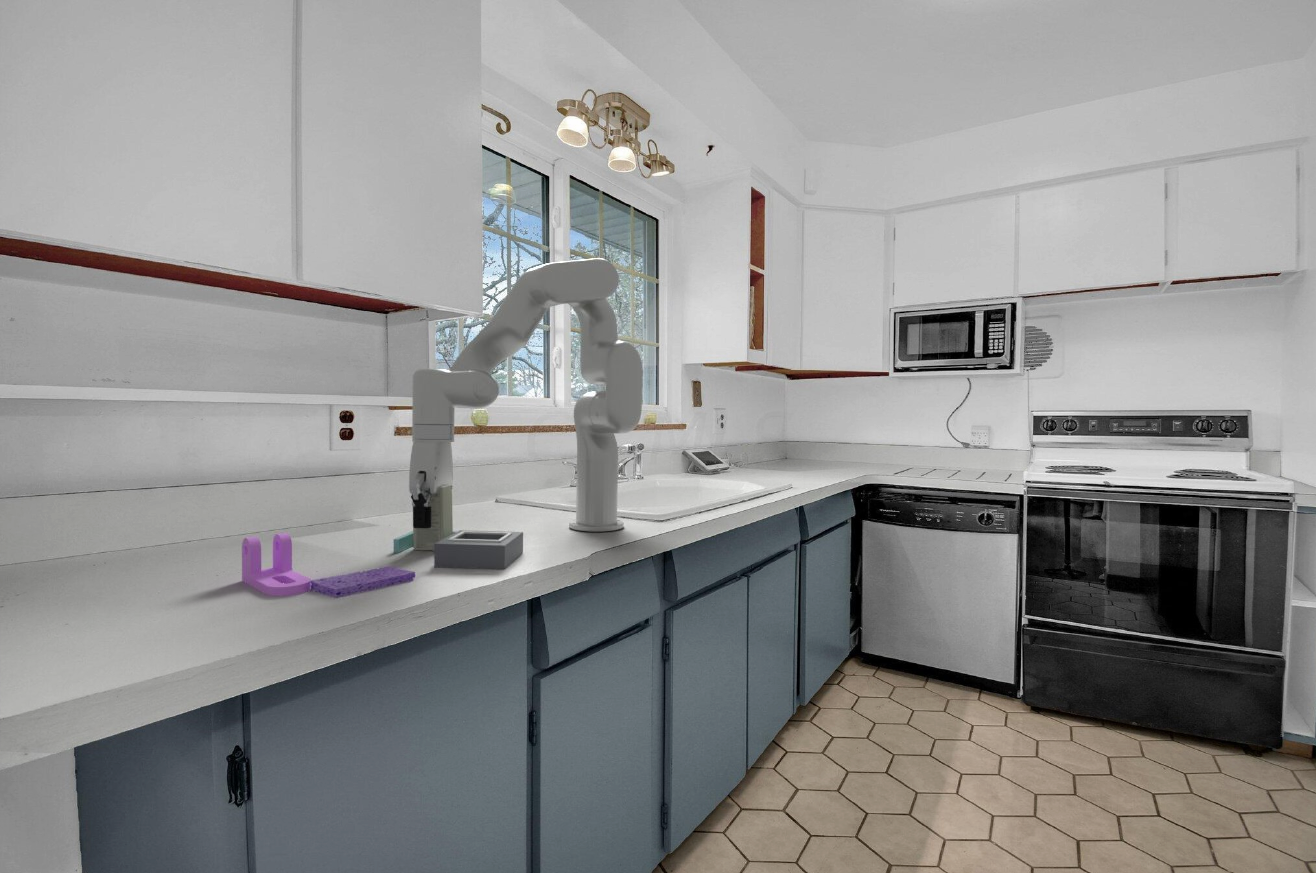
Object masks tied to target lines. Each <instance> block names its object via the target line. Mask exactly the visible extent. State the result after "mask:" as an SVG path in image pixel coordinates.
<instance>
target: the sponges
mask: <svg viewBox="0 0 1316 873" xmlns="http://www.w3.org/2000/svg"><path fill="white" fill-rule="evenodd" d="M414 578H416V572H415V571H413V570H409V569H408V570H407V569H401V568H399V567H394V566H390V565H388V566H382V567H378V568H373V569H372V568H371V569H368V570H363V571H357V572H350V573H347V574H340V575H339V574H338V575H336V576H335V575H334V576H329V577H321V578H317V579H316V578H315V579H311V589H310V590H311V591H314V590H315V591H314V592H316V593H320V592H321V593H320V594H323V595H325V594H326V596H329V597H331V598H334V599H338V598H341V597H346V596H350V595H354V594H355V595H356V594H359V593H363V592H367V590H368V591H372V590H376V589H380V588H385V587H389V586H393V585H397V584H402V583H406V582H411V581H413V580H414ZM375 588H376V589H375Z"/></svg>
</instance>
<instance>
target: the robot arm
mask: <svg viewBox="0 0 1316 873" xmlns="http://www.w3.org/2000/svg"><path fill="white" fill-rule="evenodd" d="M619 281H620V278H619V273H618V271H617V269H616V266H614V264H613V263H612V262H611V261H609V260H607V259H605V258H600V257H597V258H596V257H595V258H587V259H586V258H585V259H579V260H568V261H558V262H549V263H545V264H542V265H538V266H535V267H532V268H529V269H528V270H526V271H524V272H523V273H522V274H521V275H520V276H519V277H518V278H517V280H516V281H515V283H514V284H513V286H512V287H511V288H510V290H509V292H508V293H507V295H506V296H505V298H504V300H503V301H502V302H501V304H500V305H499V307H498V308H497V310H496V312H495V314H493V315H492V317H491V319H490V321H488V323H487V324H485V326H483V328H482V329H480V331H479V332H478V333H477V334H476V335H475V337H473V339H472V340H471V341H470V342H469V343H468V344H467V345H466V346H465V347H464V348H463V349H462V351H461V353H460V354H458V357H457V358H456V359H455V361H454V362H453V364H452V365H451V367H450V368H449V370H448V369H444V368H443V369H441V368H419V369H416V370H415V371H414V372H413V375H412V420H411V421H412V422H411V423H412V427H411V430H412V431H411V432H412V434H411V438H412V446H411V451H410V452H411V453H410V459H409V460H410V461H409V462H410V463H409V476H408V478H409V479H408V492H409V493H410V494H411V495H410V498H411V501H412V502H411V506H412V528H413V527H414V528H430V527H431V506H429V504H430V501H431V498H432V495H436V494H438V493H439V488H440V487H442V486H446V485H452V488H453V482H454V481H453V479H454V476H453V475H454V473H453V468H454V467H453V466H454V465H453V449H452V448H453V447H452V443H453V442H455V408H457V409H473V410H477V409H483V408H487V407H489V406H490V405H492V404H493V403H494V402H495V401H496V400H497V399H498V396H499V392H500V387H499V383H498V381H497V380H496V378H495V377H494V376H493V375H492V374H491V373H492V372H493V370H494V369H495V368H496V367H497V366H498V365H500V363H502V362H504V361H505V360H506V359H507V358H510V357H511V356H513V355H515V354H516V353H517V352H519V351H520V350H521V349H523V348H524V347H525V346H526V345H527V344H528V343H529V341H530V339H531V338H532V335H533V334H535V331H536V329H537V328H538V326H539V324H540V323H541V321H542V319H543V318H544V316H545V315H546V313H547V312H548V310H549V309H550V308H551V307H555V306H560V305H564V304H568V305H569V306H570V307H571V309H572V310H573V311H574V313H575V315H576V316H577V319H578V322H579V329H580V353H579V355H580V357H579V361H580V363H579V364H580V366H579V367H580V375H581V376H582V378H583V380H584V381H585V382H586V383H588V384H591V385H595V386H605V390H595V391H594V390H593V391H588V392H586V393H584V394H582V395H581V396H580V397H579V398H578V399H577V400H576V402H575V405H574V409H573V422H574V427H575V429H574V430H575V434H576V454H577V455H576V458H577V459H576V500H575V502H576V503H575V504H576V505H575V506H576V507H575V508H576V509H575V510H576V511H575V519H572V520H570V521H569V522H568V526H569V528H570V529H572V530H575V531H580V532H591V533H592V532H593V533H594V532H596V533H597V532H601V533H603V532H612V531H618V530H622V529H623V528H624V527H625V526H624V521H623V520H620V519H618V487H619V486H618V484H619V482H618V481H619V480H618V477H619V475H618V474H619V472H618V471H619V447H618V443H617V438H616V435H615V434H627V433H630V432H632V431H634V430H635V428H636V427H637V426H638V425H639V423H640V421H641V415H642V411H643V409H642V407H643V363H642V359H641V355H640V353H639V351H638V350H637V349H636V347H635V346H634V345H632V343H631V342H627V341H623V340H618V337H619V336H618V323H617V322H618V321H617V316H616V314H615V311H614V309H613V308H612V305H611V304H610V302H609V301H608V300H607V299H608V298H609V297H611V296H612V295H613V294H614V293H615V292H616V291H617V289H618V286H619ZM424 496H426V498H424Z"/></svg>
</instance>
